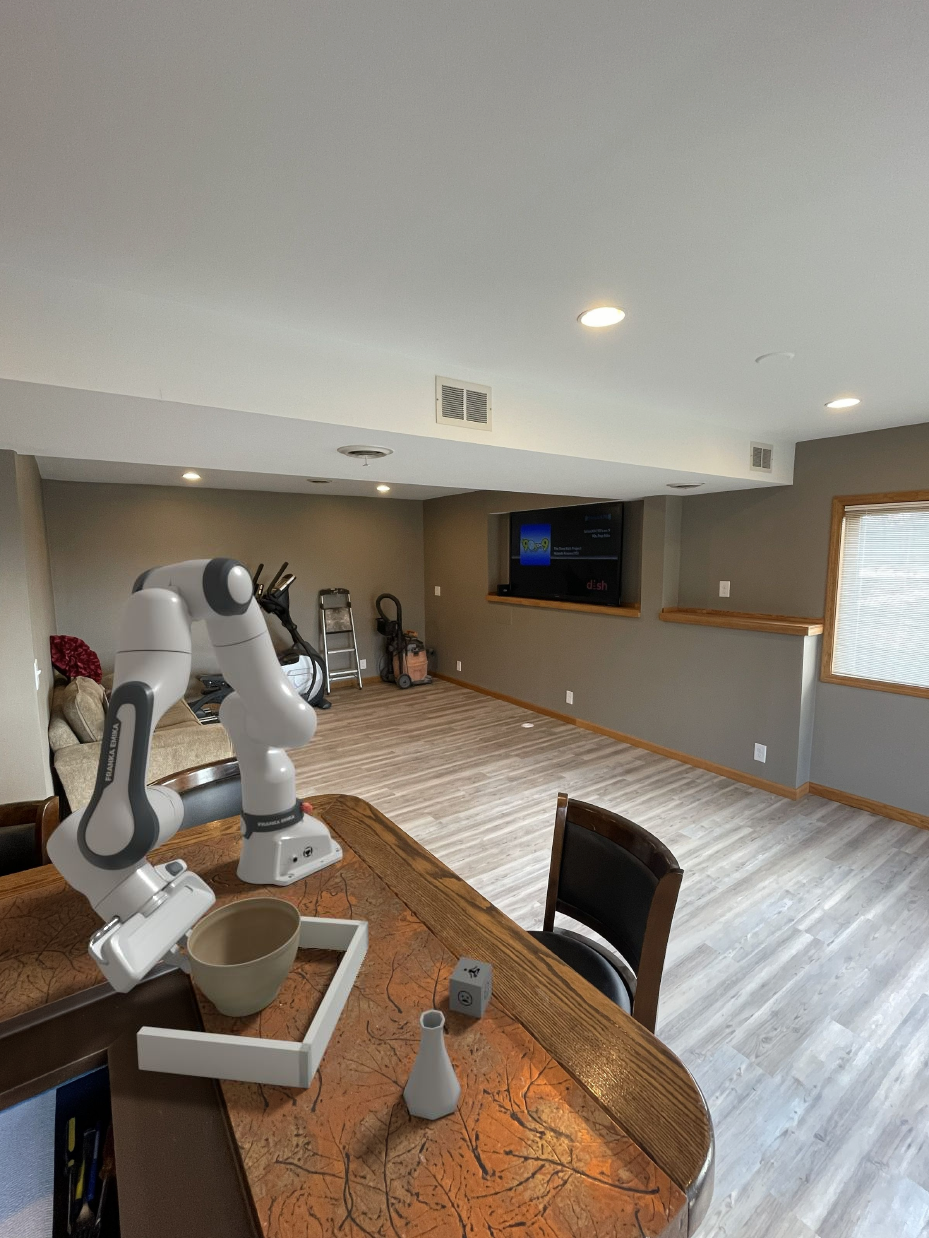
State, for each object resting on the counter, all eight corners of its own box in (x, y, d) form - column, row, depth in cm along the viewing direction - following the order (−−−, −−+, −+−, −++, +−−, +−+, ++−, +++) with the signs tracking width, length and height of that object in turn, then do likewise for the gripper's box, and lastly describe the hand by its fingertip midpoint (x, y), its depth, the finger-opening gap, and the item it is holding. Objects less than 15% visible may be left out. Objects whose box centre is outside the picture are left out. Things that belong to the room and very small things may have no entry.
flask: (403, 1070, 73) (403, 998, 73) (459, 1066, 74) (458, 995, 73) (402, 1124, 66) (401, 1045, 65) (463, 1119, 67) (463, 1041, 66)
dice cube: (481, 1019, 82) (481, 986, 81) (449, 1009, 84) (449, 978, 83) (491, 994, 87) (491, 964, 86) (461, 986, 88) (461, 956, 88)
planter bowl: (167, 1005, 84) (164, 937, 83) (259, 946, 98) (258, 886, 97) (232, 1057, 75) (229, 981, 74) (324, 983, 89) (322, 918, 88)
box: (138, 1069, 73) (136, 1033, 73) (241, 938, 100) (240, 911, 99) (308, 1088, 71) (307, 1051, 70) (368, 948, 97) (368, 921, 96)
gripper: (95, 929, 76) (165, 1004, 75) (187, 853, 96) (243, 912, 95) (67, 957, 77) (136, 1031, 76) (164, 876, 97) (219, 935, 96)
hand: (196, 964), depth 86 cm, fingers closed, pressing on planter bowl
